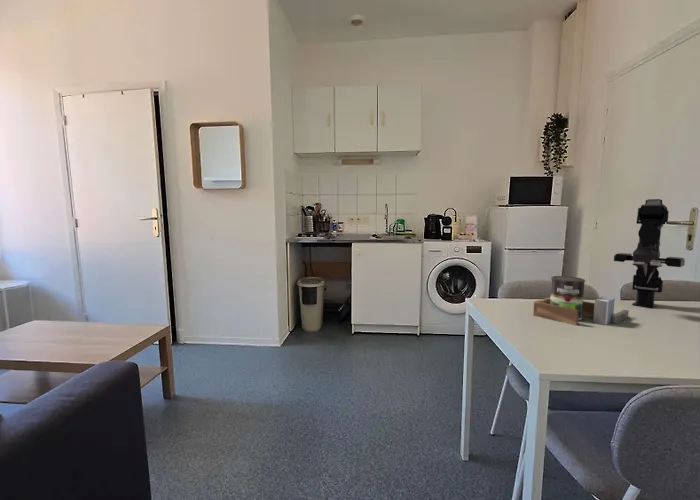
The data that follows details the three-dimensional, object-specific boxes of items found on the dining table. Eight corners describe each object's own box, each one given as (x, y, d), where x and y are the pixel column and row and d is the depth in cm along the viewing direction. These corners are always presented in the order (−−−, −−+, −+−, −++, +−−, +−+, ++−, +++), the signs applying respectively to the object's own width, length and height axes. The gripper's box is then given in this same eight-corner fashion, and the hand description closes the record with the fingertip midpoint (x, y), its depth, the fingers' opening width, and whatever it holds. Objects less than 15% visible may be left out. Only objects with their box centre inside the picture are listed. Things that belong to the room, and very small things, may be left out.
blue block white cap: (601, 318, 126) (602, 296, 125) (612, 321, 123) (614, 298, 122) (593, 322, 122) (594, 299, 121) (605, 325, 119) (607, 301, 118)
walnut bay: (553, 308, 139) (553, 295, 139) (594, 316, 128) (595, 303, 127) (533, 315, 130) (534, 302, 130) (575, 325, 119) (576, 310, 118)
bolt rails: (606, 312, 133) (606, 306, 132) (628, 317, 127) (628, 310, 127) (593, 318, 126) (593, 311, 125) (615, 323, 120) (616, 316, 120)
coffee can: (583, 322, 122) (586, 282, 120) (549, 318, 126) (551, 279, 125) (580, 314, 131) (583, 277, 129) (548, 311, 135) (550, 274, 134)
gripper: (609, 239, 128) (606, 282, 130) (678, 243, 114) (673, 291, 115) (620, 238, 135) (617, 278, 137) (687, 241, 120) (682, 286, 122)
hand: (645, 283), depth 127 cm, fingers closed
